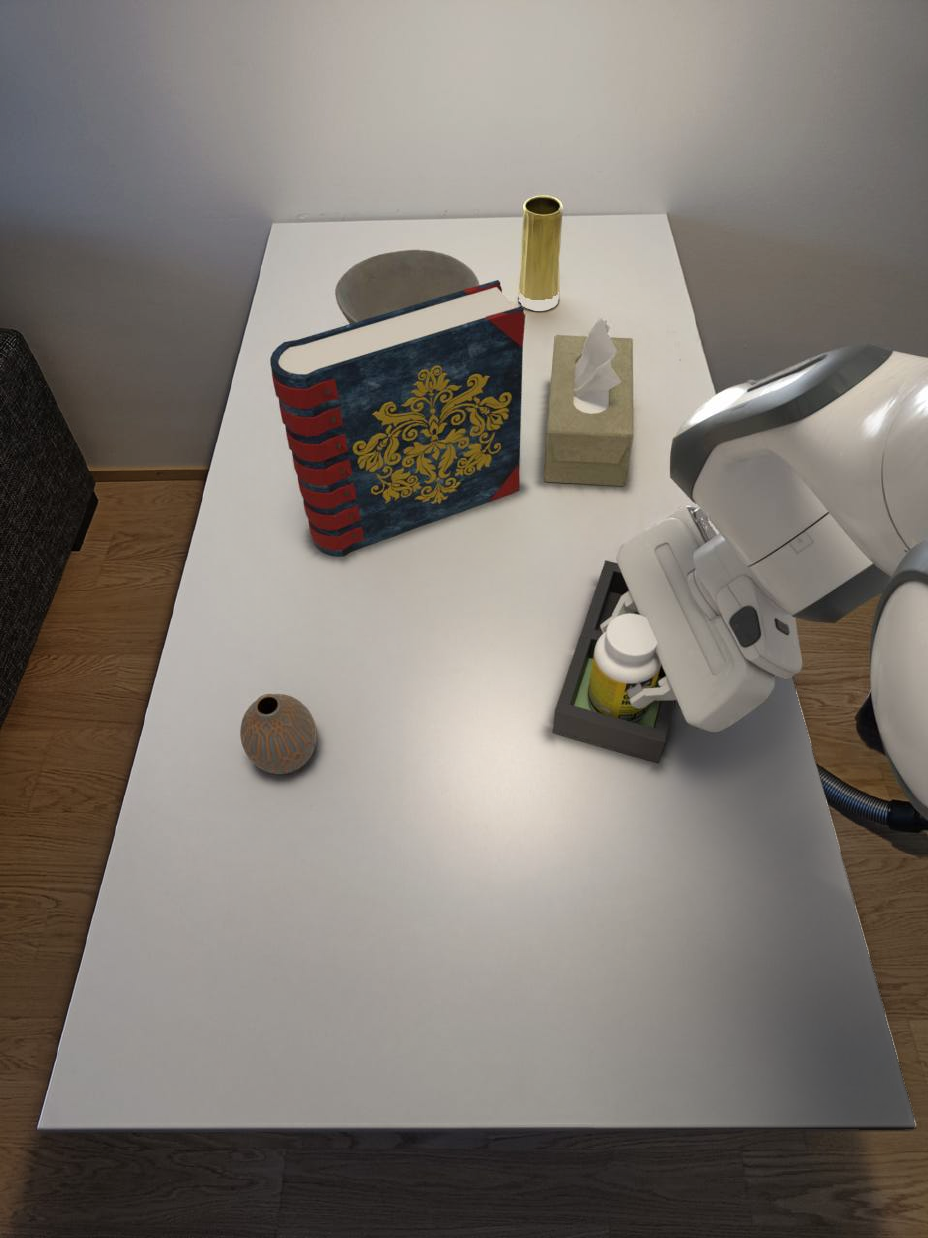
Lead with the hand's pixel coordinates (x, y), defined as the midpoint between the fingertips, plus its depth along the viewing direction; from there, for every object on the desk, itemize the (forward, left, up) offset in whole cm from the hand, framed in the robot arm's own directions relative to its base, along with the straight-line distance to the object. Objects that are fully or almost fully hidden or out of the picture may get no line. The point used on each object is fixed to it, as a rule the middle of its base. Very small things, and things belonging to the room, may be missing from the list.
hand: (618, 667), depth 82 cm
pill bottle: (0, -1, -6) cm, 6 cm away
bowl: (+47, +39, -7) cm, 62 cm away
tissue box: (+38, +12, -7) cm, 40 cm away
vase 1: (-15, +28, -7) cm, 33 cm away
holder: (+5, -1, -7) cm, 8 cm away
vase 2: (+64, +26, -7) cm, 70 cm away
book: (+19, +28, -7) cm, 35 cm away
